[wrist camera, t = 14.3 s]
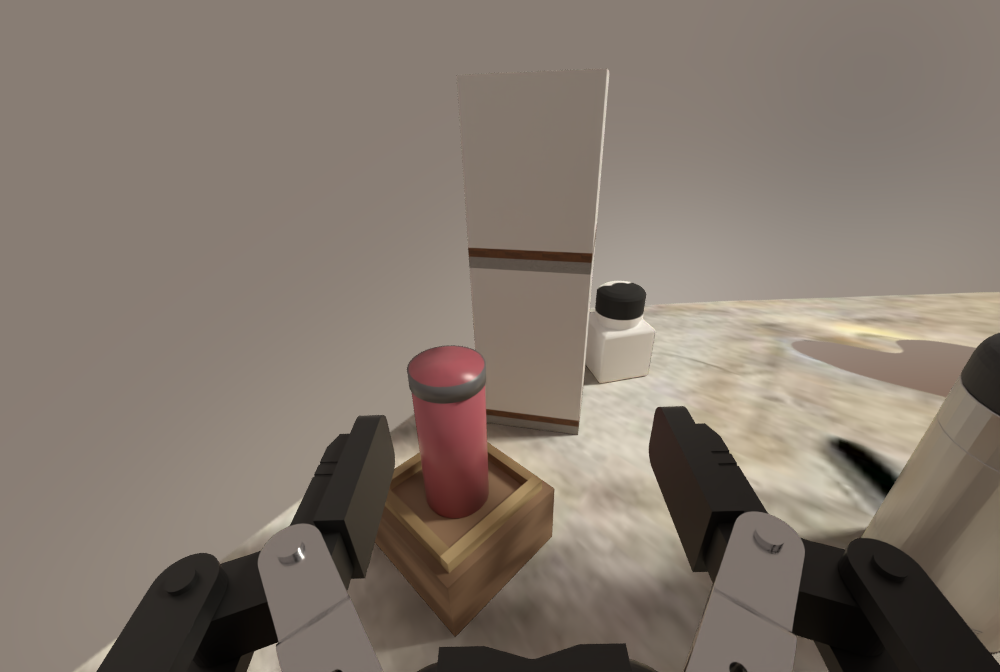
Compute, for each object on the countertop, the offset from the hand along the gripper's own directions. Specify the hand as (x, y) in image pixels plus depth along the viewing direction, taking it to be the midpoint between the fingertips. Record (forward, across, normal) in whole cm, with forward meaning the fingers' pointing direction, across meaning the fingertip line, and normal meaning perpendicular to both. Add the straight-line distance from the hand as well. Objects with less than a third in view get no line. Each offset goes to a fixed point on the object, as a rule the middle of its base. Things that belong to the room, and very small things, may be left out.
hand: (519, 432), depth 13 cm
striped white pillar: (+33, -3, +26) cm, 42 cm away
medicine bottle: (+40, -14, +26) cm, 50 cm away
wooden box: (+14, +5, +25) cm, 29 cm away
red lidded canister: (+14, +5, +19) cm, 24 cm away
